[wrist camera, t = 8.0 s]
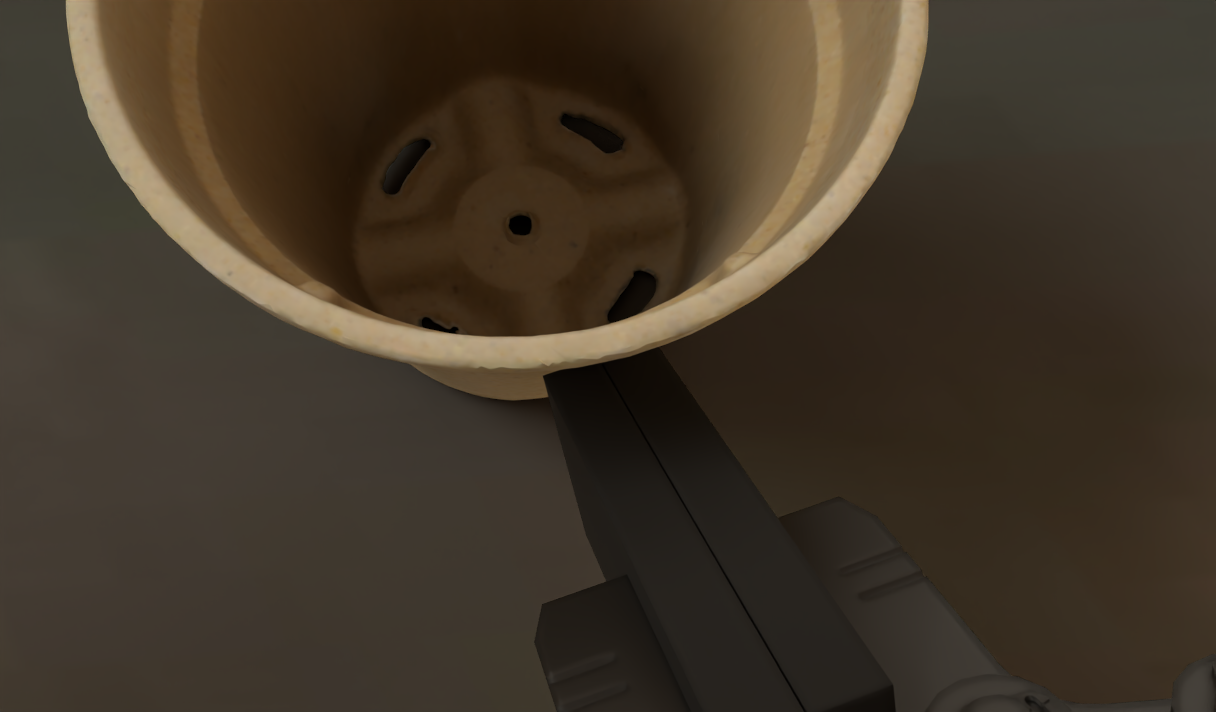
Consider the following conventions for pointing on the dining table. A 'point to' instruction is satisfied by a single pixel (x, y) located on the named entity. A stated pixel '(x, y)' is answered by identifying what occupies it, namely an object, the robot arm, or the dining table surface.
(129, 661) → the dining table surface
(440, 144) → the flower pot
